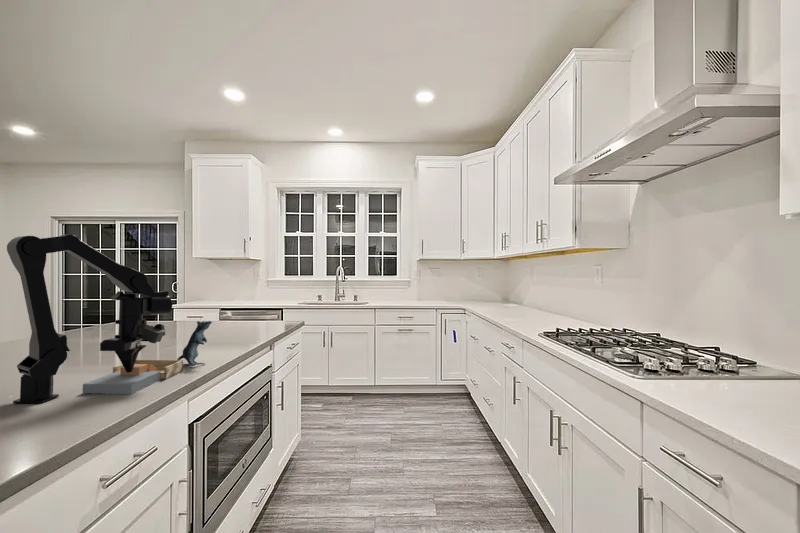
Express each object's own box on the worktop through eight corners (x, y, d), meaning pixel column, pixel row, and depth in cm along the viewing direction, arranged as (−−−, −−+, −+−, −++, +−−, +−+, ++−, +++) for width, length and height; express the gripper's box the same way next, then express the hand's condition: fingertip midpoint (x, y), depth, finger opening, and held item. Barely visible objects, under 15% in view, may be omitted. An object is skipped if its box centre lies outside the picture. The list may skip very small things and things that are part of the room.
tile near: (139, 374, 127) (139, 367, 127) (120, 374, 127) (120, 367, 127) (147, 371, 132) (147, 364, 132) (129, 371, 132) (129, 364, 132)
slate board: (131, 394, 116) (131, 384, 116) (82, 393, 116) (82, 384, 116) (159, 379, 132) (160, 371, 132) (117, 379, 132) (117, 371, 132)
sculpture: (203, 367, 151) (205, 322, 152) (171, 366, 151) (173, 321, 152) (214, 362, 160) (215, 320, 160) (183, 362, 160) (185, 319, 160)
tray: (165, 379, 133) (166, 367, 133) (112, 379, 132) (112, 367, 132) (182, 371, 145) (182, 360, 145) (133, 370, 144) (134, 359, 144)
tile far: (148, 370, 132) (150, 363, 133) (130, 370, 132) (132, 363, 133) (155, 374, 137) (157, 367, 138) (138, 374, 136) (139, 367, 137)
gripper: (144, 319, 118) (142, 379, 118) (175, 313, 137) (173, 365, 136) (99, 318, 117) (97, 379, 117) (136, 313, 136) (135, 365, 135)
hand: (129, 372), depth 126 cm, fingers closed
